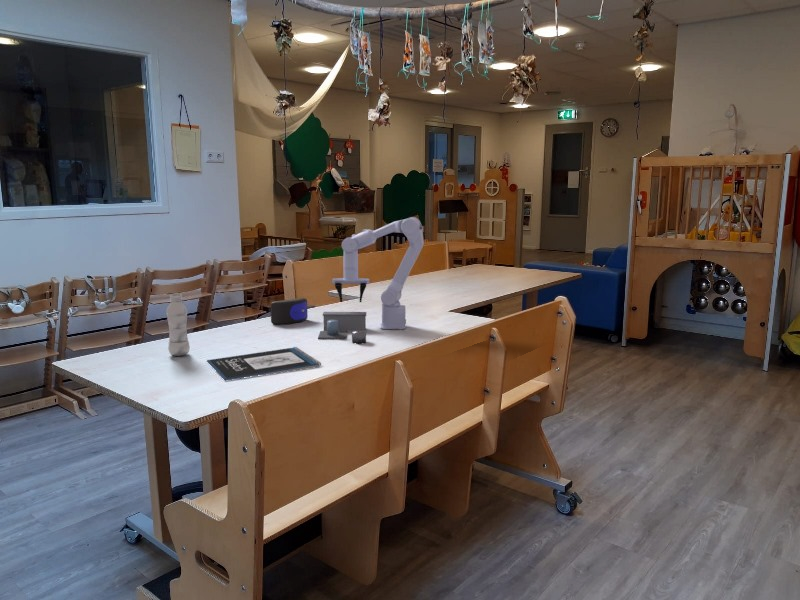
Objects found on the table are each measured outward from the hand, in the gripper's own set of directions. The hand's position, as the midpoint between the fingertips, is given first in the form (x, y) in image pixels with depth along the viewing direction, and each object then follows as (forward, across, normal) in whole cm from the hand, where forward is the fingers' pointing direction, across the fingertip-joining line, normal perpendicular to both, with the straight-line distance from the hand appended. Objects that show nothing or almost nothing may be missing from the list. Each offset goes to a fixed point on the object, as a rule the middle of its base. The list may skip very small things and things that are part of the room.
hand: (350, 301), depth 241 cm
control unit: (+9, +2, +8) cm, 13 cm away
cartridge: (+9, +6, +18) cm, 21 cm away
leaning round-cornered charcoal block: (+10, +25, -4) cm, 27 cm away
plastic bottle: (+10, +54, +44) cm, 70 cm away
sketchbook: (+10, +25, +54) cm, 60 cm away
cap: (+10, -4, +27) cm, 29 cm away
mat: (+9, +6, +18) cm, 21 cm away
